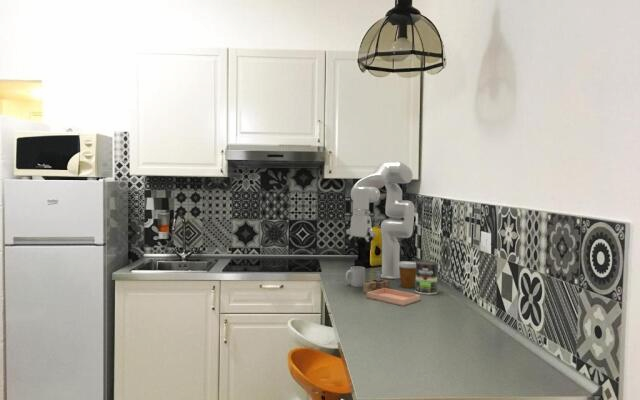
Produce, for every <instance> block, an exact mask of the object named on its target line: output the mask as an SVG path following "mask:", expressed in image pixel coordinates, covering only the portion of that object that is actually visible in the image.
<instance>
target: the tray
mask: <svg viewBox="0 0 640 400" xmlns="http://www.w3.org/2000/svg"><path fill="white" fill-rule="evenodd" d="M366 299H369V300H373V301H374V300H375V301H378V302H382V303H388V304H392V305H396V306H401V307H405V306H408V305H411V304H414V303H417V302H419V301H421V294H419V293H417V294H416V293H412V292H407V291H403V290H397V289H392V288H391V289H387V288H382V289H378V290H375V291H371V292H366Z"/></svg>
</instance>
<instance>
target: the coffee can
mask: <svg viewBox="0 0 640 400" xmlns="http://www.w3.org/2000/svg"><path fill="white" fill-rule="evenodd" d="M415 262H416V275H415V284H414V287H415V289H414V291H415V294H416V293H417V294H418V295H428V296H429V295H437V294H438V274H439V273H438V268H439V267H438V266H439V263H438V262H436V261H431V260H417V261H415Z"/></svg>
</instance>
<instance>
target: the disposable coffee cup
mask: <svg viewBox="0 0 640 400" xmlns="http://www.w3.org/2000/svg"><path fill="white" fill-rule="evenodd" d="M416 262H417V261H412V260H411V261H408V260H407V261H406V260H404V261H402V260H401V261H399V264H398V266H399V270H400V278H399V280H400V285H401V286H400V287H402V288H405V289H407V288H408V289H411V288H414V287H415V283H416Z"/></svg>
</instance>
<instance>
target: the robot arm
mask: <svg viewBox="0 0 640 400" xmlns="http://www.w3.org/2000/svg"><path fill="white" fill-rule="evenodd" d="M413 176H414V175H413V171H412V169H411V168H410V167H409V166H408V165H407V164H406V163H403V162H401V161H383V162H380V163H379V165H378V166H377V167H376V168H375V170H374V171H373V173H372V174H370V175H367V176H366V177H363V178H362V179H359V180H358V181H357V182H355V184H354V185H353V187H352V188H351V191H350V198H351V200H352V216H351V218H350V227H349V228H348V229H346V230H345V231H346V232H345V233H346V236H347V238H348V240H349V249H354V248H356V239H355V238H356V237H358V238H364V239H365V247H364V248H365V251H371V250H372V242H373V240H374V239H375V236H376V231H374V230H373V229H372V228H373V227H372V219H371V216H370V214H371V211H370V203H376V202H378V201H379V199H380V197H381V192H380V189H382V188H384V186H385V190H386V199H385V207H384V208H385V215H386V216H387V217H390V218H397V219H385V220H383V221H382V222H381V224H380V233H381V243H382V244H381V253H382V254H381V272H382V274H381V279H389V280H391V279H392V280H393V279H400V270H399V266H398V264H399V262H400V259H401V258H400V257H401V256H400V252H401V251H400V250H401V248H400V242H399V241H398V238H402V239H408V238H410V237H412V235H413V232H414V224H415V223H414V222H415V221H414V220H415V212H416V211H415V205H414V202H413V201H410V200H406V199H405V200H403V190H402V188H401V187H400V185H399V184H409V183H410V182H411V181H412V180H413ZM398 218H403V219H398Z"/></svg>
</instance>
